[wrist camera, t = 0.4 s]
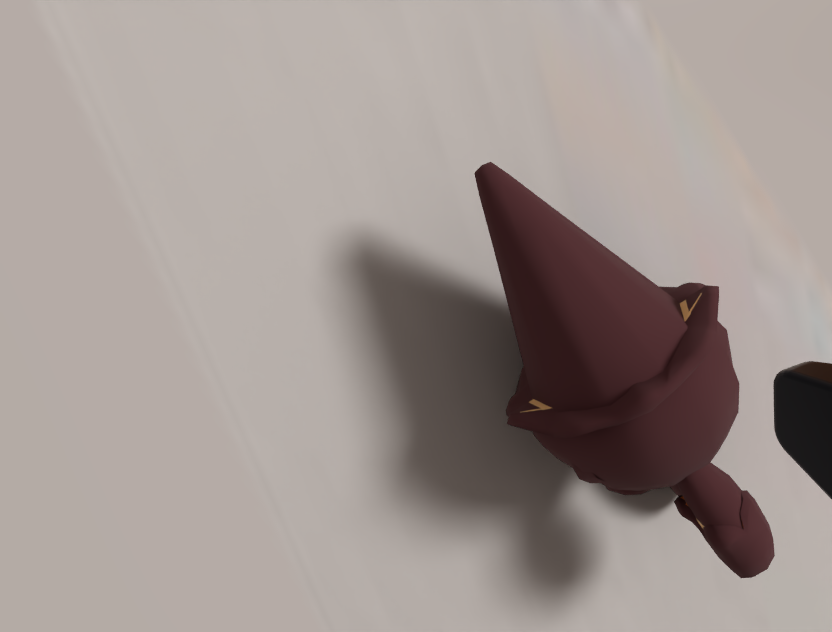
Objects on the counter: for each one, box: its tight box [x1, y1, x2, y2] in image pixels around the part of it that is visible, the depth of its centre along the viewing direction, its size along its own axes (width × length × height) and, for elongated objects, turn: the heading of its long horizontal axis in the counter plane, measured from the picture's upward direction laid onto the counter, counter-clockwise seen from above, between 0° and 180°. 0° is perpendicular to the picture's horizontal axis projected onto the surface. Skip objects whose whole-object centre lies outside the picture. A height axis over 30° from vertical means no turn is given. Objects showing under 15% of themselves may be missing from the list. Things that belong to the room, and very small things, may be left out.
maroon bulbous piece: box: [475, 162, 775, 578], centre depth 22 cm, size 7×7×15 cm
